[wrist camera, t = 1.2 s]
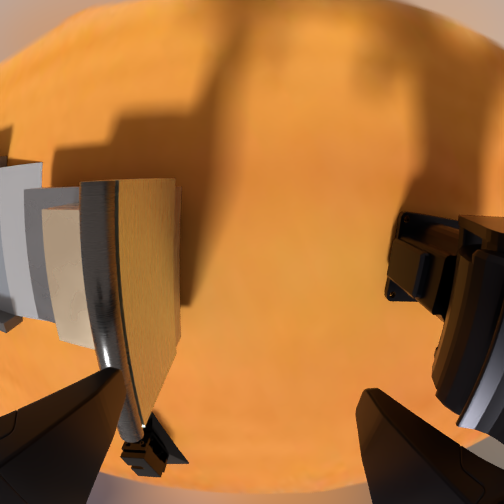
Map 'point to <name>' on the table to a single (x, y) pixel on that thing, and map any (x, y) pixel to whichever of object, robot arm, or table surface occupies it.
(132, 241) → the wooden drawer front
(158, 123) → the table surface
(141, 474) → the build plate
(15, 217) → the dock
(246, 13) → the table surface
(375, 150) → the table surface
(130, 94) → the table surface
